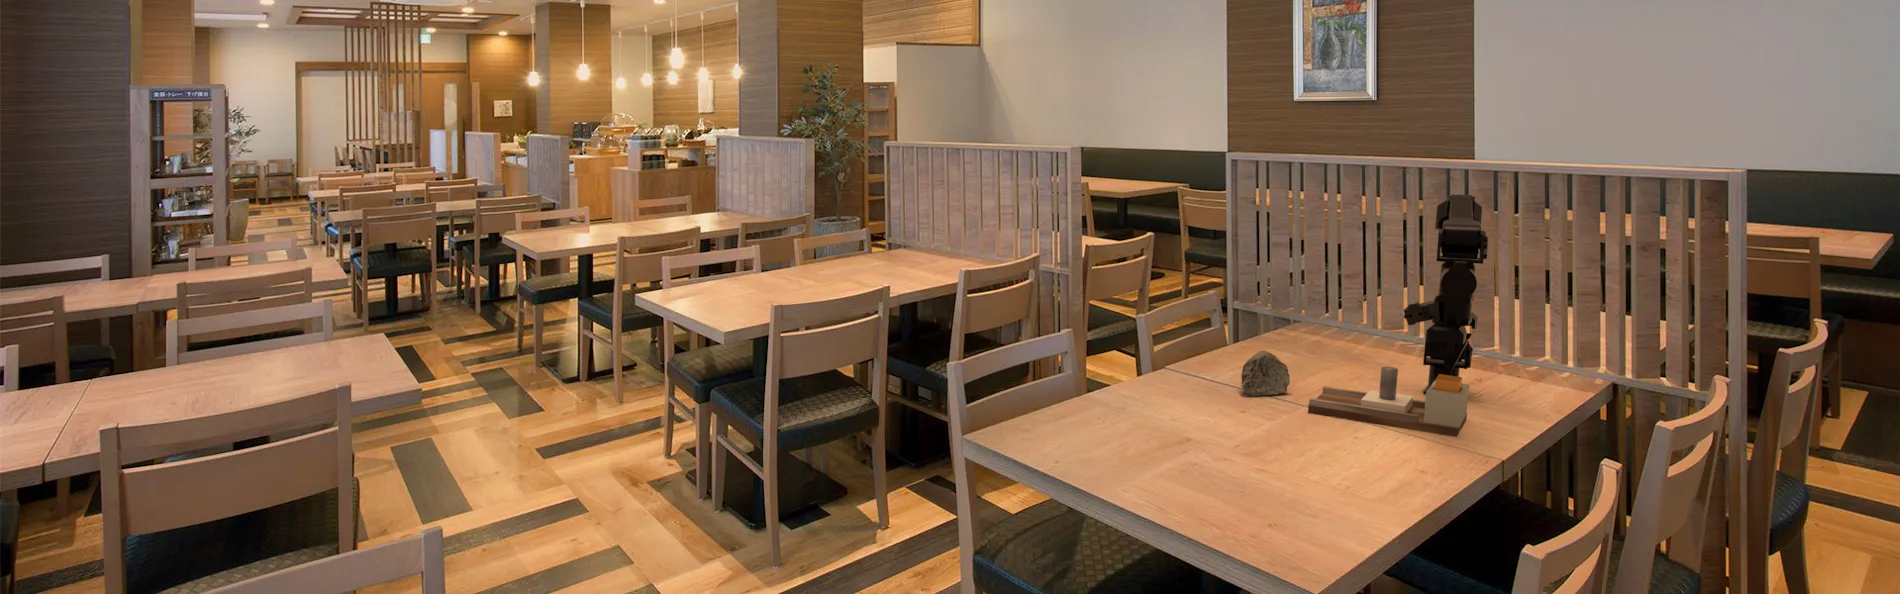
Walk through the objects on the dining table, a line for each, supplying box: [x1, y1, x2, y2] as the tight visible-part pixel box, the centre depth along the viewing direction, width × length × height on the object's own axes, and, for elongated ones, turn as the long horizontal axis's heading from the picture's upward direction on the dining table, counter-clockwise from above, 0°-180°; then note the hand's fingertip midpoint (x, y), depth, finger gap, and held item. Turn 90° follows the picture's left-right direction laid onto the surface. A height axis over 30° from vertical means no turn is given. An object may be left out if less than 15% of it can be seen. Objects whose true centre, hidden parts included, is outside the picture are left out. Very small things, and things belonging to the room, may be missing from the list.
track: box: [1307, 385, 1468, 438], centre depth 193 cm, size 12×27×3 cm, turn 55°
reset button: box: [1435, 374, 1463, 393], centre depth 186 cm, size 4×4×5 cm
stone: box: [1240, 350, 1291, 397], centre depth 210 cm, size 10×10×10 cm
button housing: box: [1424, 380, 1470, 428], centre depth 186 cm, size 10×6×6 cm, turn 145°
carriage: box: [1361, 366, 1414, 413], centre depth 192 cm, size 8×8×8 cm
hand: (1448, 370), depth 185 cm, fingers closed
